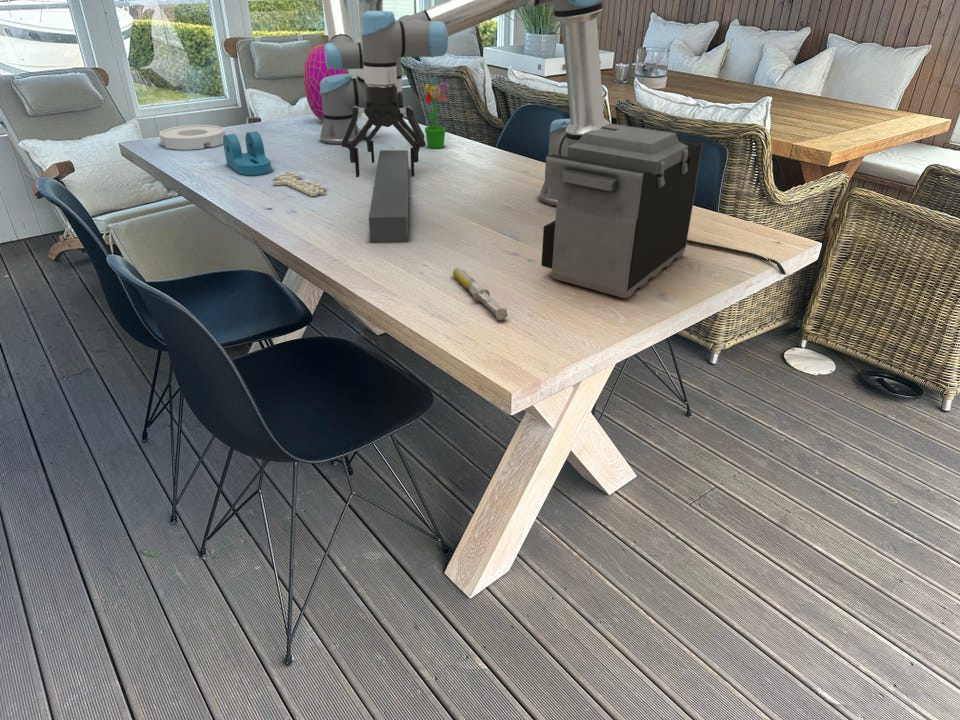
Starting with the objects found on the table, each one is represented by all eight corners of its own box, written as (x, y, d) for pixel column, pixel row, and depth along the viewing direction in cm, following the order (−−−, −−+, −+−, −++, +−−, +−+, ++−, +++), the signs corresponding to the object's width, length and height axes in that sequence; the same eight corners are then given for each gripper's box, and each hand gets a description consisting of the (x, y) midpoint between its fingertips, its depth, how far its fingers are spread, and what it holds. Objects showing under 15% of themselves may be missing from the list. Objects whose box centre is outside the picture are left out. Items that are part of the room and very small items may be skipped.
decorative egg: (337, 115, 306) (331, 41, 291) (362, 122, 294) (356, 45, 279) (299, 120, 295) (290, 44, 280) (323, 128, 283) (315, 49, 267)
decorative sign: (262, 176, 218) (290, 170, 223) (262, 179, 218) (291, 173, 224) (303, 195, 201) (333, 189, 206) (303, 198, 201) (333, 192, 207)
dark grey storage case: (608, 233, 179) (621, 113, 163) (689, 253, 168) (712, 126, 152) (533, 279, 153) (540, 141, 138) (624, 305, 142) (643, 159, 127)
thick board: (407, 241, 173) (406, 216, 169) (370, 242, 172) (368, 217, 169) (408, 169, 230) (407, 150, 227) (381, 170, 230) (379, 150, 226)
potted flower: (429, 149, 253) (427, 77, 241) (420, 145, 259) (418, 74, 247) (452, 147, 257) (451, 75, 245) (443, 142, 263) (442, 72, 250)
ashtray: (176, 134, 270) (174, 124, 268) (235, 135, 269) (233, 125, 267) (150, 149, 250) (147, 137, 248) (213, 150, 249) (211, 139, 247)
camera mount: (227, 164, 233) (221, 132, 227) (257, 160, 238) (252, 129, 233) (244, 176, 220) (239, 143, 215) (276, 172, 225) (271, 139, 220)
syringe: (449, 274, 155) (449, 263, 153) (465, 272, 156) (464, 260, 154) (490, 323, 135) (491, 310, 133) (508, 319, 136) (508, 307, 134)
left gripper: (430, 90, 217) (432, 158, 228) (350, 91, 215) (356, 159, 226) (430, 94, 211) (432, 164, 221) (348, 94, 209) (354, 165, 219)
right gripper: (433, 82, 165) (434, 171, 176) (328, 82, 162) (335, 171, 173) (435, 87, 159) (436, 179, 169) (325, 87, 156) (333, 180, 167)
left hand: (394, 162), depth 224 cm, fingers open, 13 cm apart
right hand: (385, 175), depth 171 cm, fingers open, 13 cm apart
